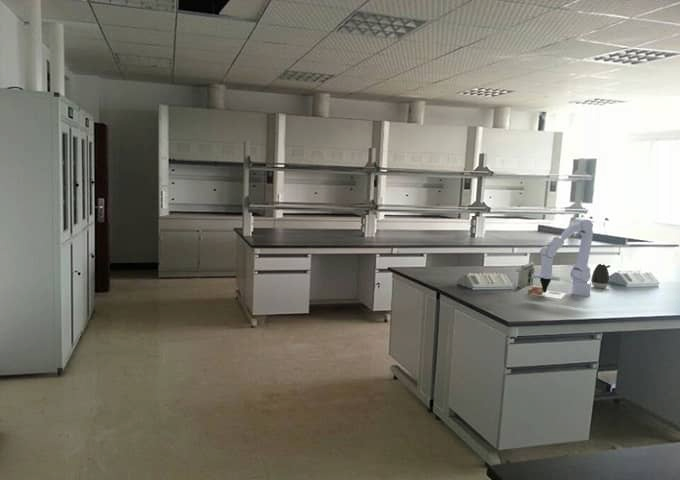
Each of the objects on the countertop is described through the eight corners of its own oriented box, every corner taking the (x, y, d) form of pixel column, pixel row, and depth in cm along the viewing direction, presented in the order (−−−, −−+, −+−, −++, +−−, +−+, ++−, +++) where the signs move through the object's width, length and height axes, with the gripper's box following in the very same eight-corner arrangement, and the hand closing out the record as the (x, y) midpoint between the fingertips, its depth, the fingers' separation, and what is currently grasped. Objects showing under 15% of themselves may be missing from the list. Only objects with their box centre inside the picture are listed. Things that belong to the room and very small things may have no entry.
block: (542, 293, 298) (543, 286, 297) (540, 295, 293) (541, 287, 293) (533, 292, 300) (534, 285, 300) (531, 293, 296) (532, 286, 296)
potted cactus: (612, 289, 325) (614, 265, 323) (595, 289, 325) (597, 264, 323) (604, 286, 335) (606, 262, 333) (587, 285, 335) (589, 262, 333)
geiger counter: (526, 265, 316) (539, 261, 336) (515, 264, 319) (529, 260, 339) (524, 288, 317) (537, 283, 337) (513, 287, 321) (527, 281, 341)
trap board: (566, 295, 301) (566, 288, 301) (560, 301, 286) (561, 294, 285) (533, 291, 311) (533, 284, 310) (526, 296, 295) (526, 289, 295)
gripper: (531, 267, 294) (529, 291, 295) (559, 270, 286) (557, 295, 288) (534, 265, 300) (532, 289, 301) (561, 268, 292) (559, 293, 294)
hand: (544, 292), depth 295 cm, fingers closed
